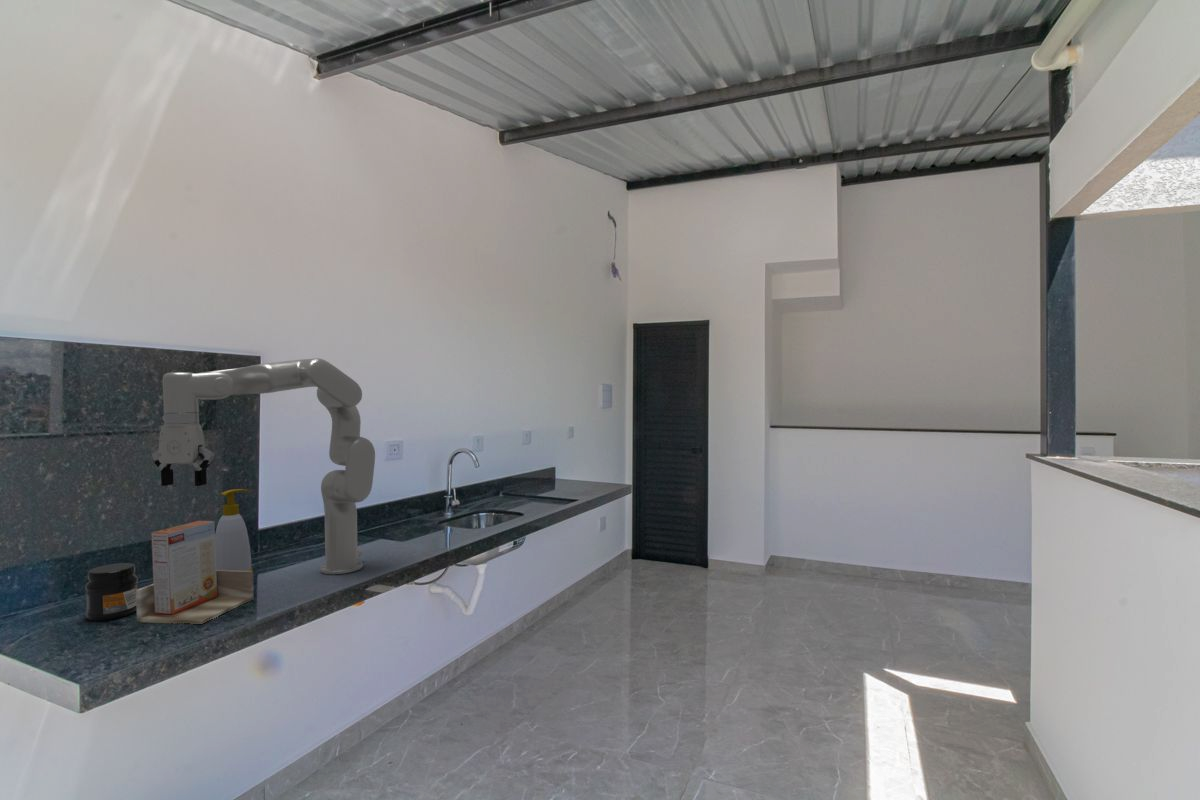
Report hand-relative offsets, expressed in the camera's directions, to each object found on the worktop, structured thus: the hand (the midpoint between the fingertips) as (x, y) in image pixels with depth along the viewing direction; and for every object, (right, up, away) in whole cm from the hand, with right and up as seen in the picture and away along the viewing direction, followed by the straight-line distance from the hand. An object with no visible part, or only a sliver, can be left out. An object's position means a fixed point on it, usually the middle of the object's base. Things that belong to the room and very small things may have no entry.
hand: (184, 485), depth 161 cm
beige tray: (+4, -33, 0) cm, 33 cm away
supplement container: (-17, -33, -2) cm, 37 cm away
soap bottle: (-7, -33, +33) cm, 46 cm away
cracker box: (0, -32, 0) cm, 32 cm away
